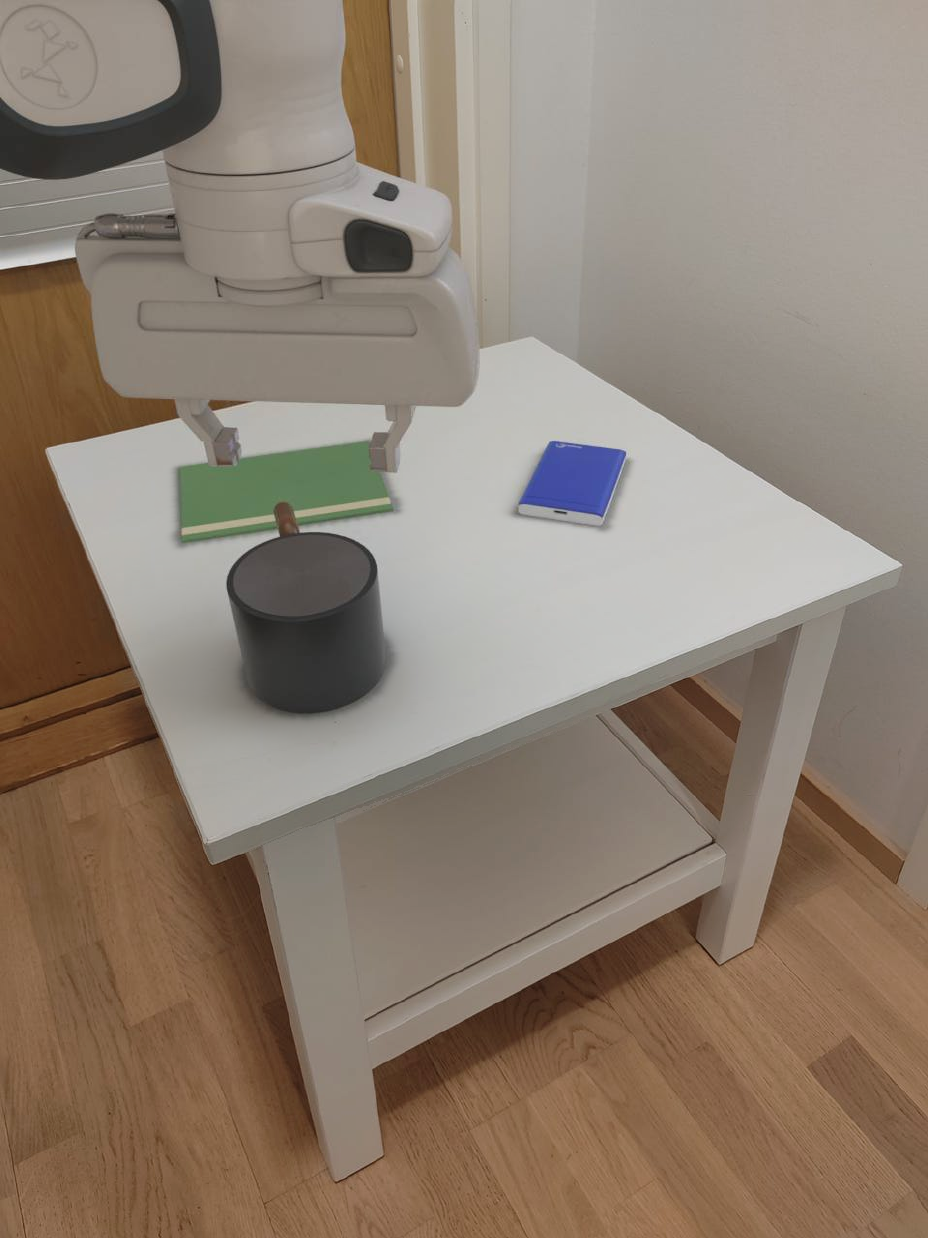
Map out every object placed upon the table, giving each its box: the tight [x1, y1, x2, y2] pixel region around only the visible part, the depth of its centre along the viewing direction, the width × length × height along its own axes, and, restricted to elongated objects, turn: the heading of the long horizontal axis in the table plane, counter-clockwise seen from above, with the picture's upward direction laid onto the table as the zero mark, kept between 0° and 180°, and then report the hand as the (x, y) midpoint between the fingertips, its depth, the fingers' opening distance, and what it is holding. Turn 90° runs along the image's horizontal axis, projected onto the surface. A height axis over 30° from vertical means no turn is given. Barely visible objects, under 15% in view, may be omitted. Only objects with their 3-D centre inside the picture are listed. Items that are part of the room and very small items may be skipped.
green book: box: [178, 440, 394, 544], centre depth 96 cm, size 20×14×1 cm
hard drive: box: [518, 440, 627, 527], centre depth 95 cm, size 2×8×12 cm
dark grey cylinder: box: [225, 502, 387, 714], centre depth 75 cm, size 17×11×9 cm, turn 17°
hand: (305, 464), depth 55 cm, fingers open, 8 cm apart
